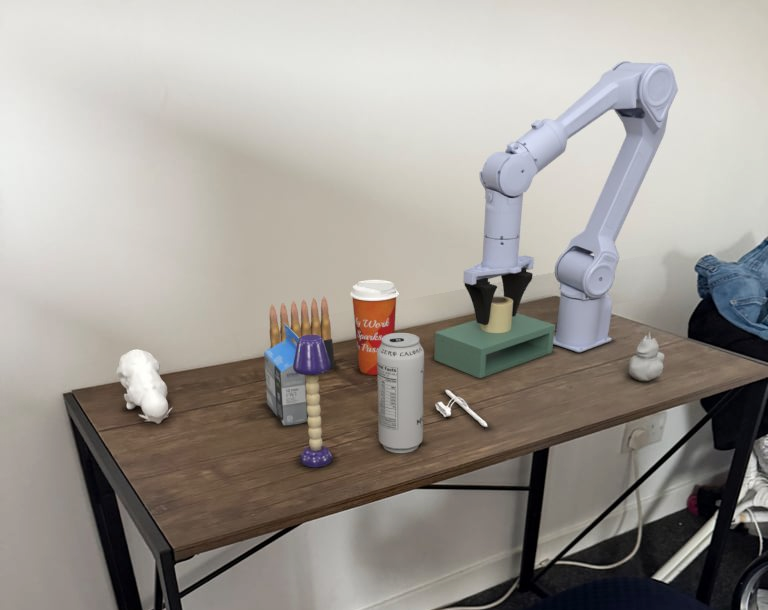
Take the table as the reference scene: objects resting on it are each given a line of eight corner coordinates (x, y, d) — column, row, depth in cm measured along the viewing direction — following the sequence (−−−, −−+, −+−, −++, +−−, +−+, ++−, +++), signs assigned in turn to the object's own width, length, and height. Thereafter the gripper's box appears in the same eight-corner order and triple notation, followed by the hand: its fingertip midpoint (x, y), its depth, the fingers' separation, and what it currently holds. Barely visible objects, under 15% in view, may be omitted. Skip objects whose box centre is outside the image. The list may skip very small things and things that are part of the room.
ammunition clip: (330, 364, 129) (327, 294, 123) (335, 368, 128) (331, 297, 121) (271, 375, 125) (264, 304, 119) (275, 379, 124) (268, 307, 117)
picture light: (489, 428, 107) (490, 414, 106) (461, 433, 106) (462, 419, 105) (447, 392, 118) (448, 379, 117) (422, 396, 117) (422, 383, 116)
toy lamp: (300, 451, 102) (290, 332, 93) (335, 450, 102) (328, 330, 94) (300, 469, 98) (290, 345, 89) (336, 467, 98) (329, 343, 89)
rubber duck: (617, 377, 123) (625, 329, 118) (646, 369, 125) (654, 321, 121) (643, 388, 119) (652, 339, 114) (672, 379, 121) (681, 331, 117)
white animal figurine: (153, 341, 114) (175, 374, 106) (161, 391, 119) (183, 427, 111) (110, 349, 112) (129, 383, 103) (120, 400, 117) (140, 436, 109)
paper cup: (345, 373, 125) (341, 289, 118) (364, 358, 131) (361, 276, 124) (389, 380, 123) (388, 294, 115) (406, 363, 129) (406, 281, 121)
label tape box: (266, 404, 116) (258, 325, 109) (292, 399, 117) (285, 321, 110) (283, 427, 109) (275, 344, 102) (310, 422, 110) (304, 340, 103)
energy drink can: (428, 451, 102) (430, 344, 94) (386, 458, 100) (384, 349, 92) (414, 432, 107) (415, 329, 99) (373, 438, 105) (371, 334, 97)
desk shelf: (505, 336, 140) (507, 310, 137) (552, 352, 132) (555, 324, 130) (434, 360, 130) (434, 332, 128) (479, 378, 123) (481, 349, 120)
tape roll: (495, 321, 132) (497, 293, 129) (517, 328, 128) (519, 299, 126) (474, 327, 129) (475, 299, 126) (496, 335, 126) (498, 306, 123)
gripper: (488, 247, 114) (483, 334, 121) (551, 232, 122) (542, 315, 129) (455, 239, 119) (452, 323, 126) (518, 225, 126) (512, 306, 134)
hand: (496, 319), depth 128 cm, fingers open, 6 cm apart
